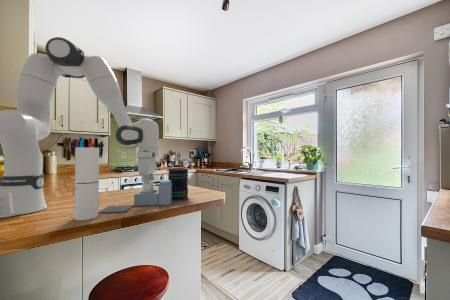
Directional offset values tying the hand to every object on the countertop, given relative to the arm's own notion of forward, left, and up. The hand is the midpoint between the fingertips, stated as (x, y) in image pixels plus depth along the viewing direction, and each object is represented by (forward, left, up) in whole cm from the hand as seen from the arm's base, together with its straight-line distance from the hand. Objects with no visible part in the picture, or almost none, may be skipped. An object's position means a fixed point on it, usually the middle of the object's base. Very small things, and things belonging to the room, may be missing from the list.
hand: (148, 183), depth 96 cm
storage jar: (+13, +7, -9) cm, 18 cm away
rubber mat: (-10, -11, -9) cm, 17 cm away
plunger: (+8, -3, -6) cm, 11 cm away
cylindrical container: (-17, -20, -9) cm, 28 cm away
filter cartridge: (0, 0, -7) cm, 7 cm away
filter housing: (+3, 0, -9) cm, 10 cm away
